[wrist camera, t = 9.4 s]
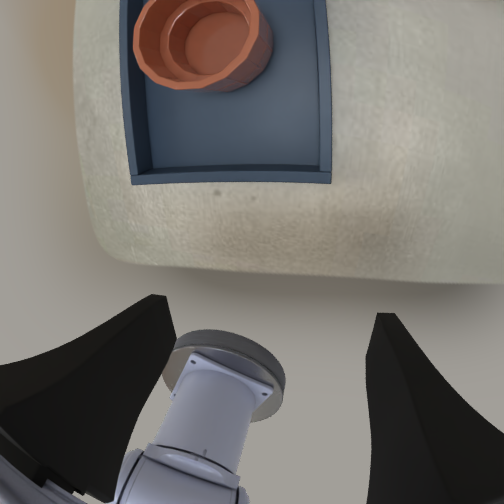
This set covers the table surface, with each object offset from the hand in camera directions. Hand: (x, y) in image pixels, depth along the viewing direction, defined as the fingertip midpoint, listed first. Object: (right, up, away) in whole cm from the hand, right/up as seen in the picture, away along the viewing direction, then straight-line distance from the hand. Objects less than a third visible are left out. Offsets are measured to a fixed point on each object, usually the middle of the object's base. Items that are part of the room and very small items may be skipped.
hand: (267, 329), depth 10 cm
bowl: (-2, +14, +4) cm, 14 cm away
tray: (-2, +14, +4) cm, 15 cm away
